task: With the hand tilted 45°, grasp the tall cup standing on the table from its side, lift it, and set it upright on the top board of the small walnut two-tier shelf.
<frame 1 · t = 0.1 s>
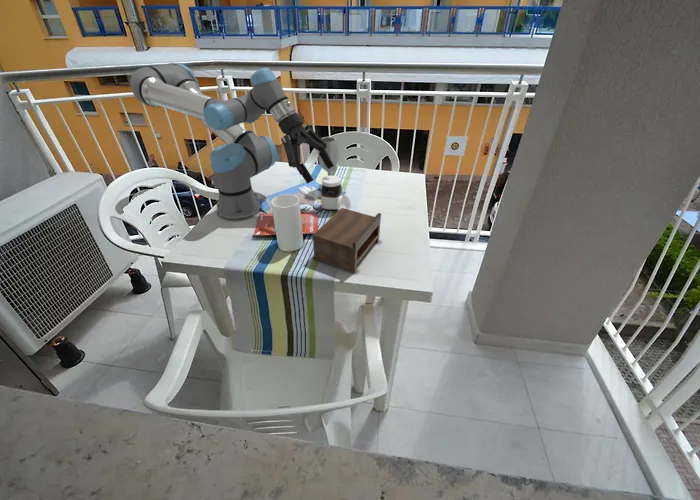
hand: (321, 174, 109), 15 cm above the table, tool tilted 35°, fingers open, 13 cm apart
wineglass: (329, 188, 135), on the table
shelf: (347, 249, 100), on the table
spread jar: (336, 209, 121), on the table
cup: (290, 244, 103), on the table
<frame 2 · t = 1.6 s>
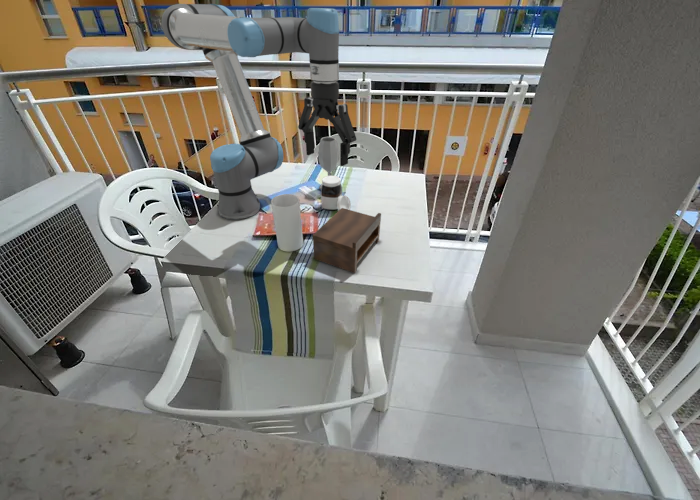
hand: (326, 159, 96), 25 cm above the table, tool pointing down, fingers open, 13 cm apart
nothing on the table moved.
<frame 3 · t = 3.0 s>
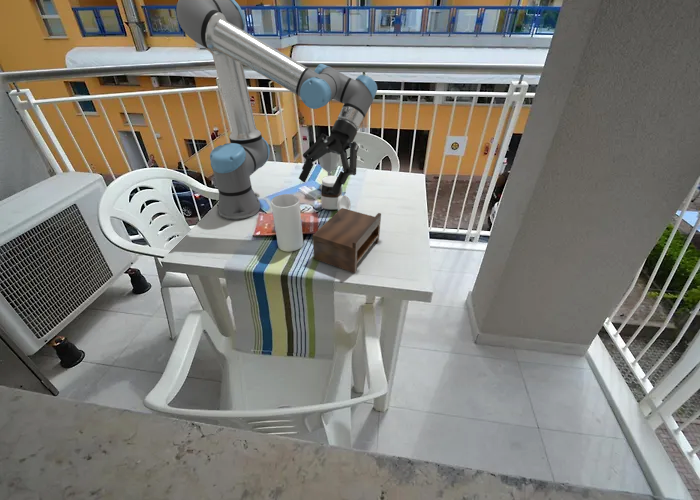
hand: (317, 186, 98), 17 cm above the table, tool tilted 45°, fingers open, 13 cm apart
nothing on the table moved.
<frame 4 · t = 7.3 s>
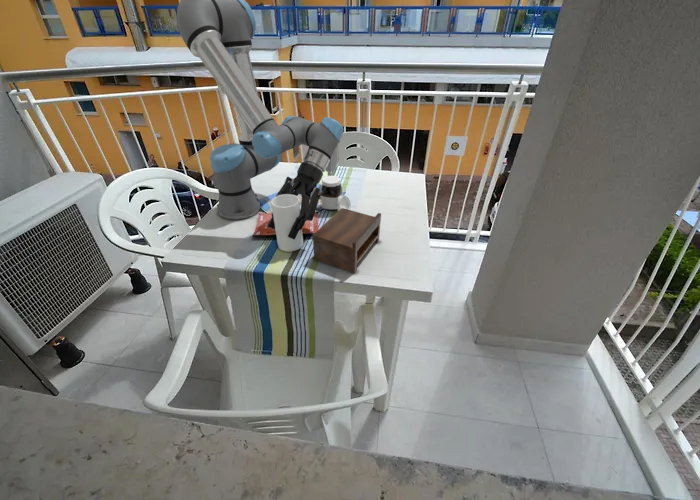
hand: (280, 232, 97), 6 cm above the table, tool tilted 45°, fingers closed on cup, 8 cm apart
cup: (290, 244, 103), on the table, touching gripper
everything else where it was.
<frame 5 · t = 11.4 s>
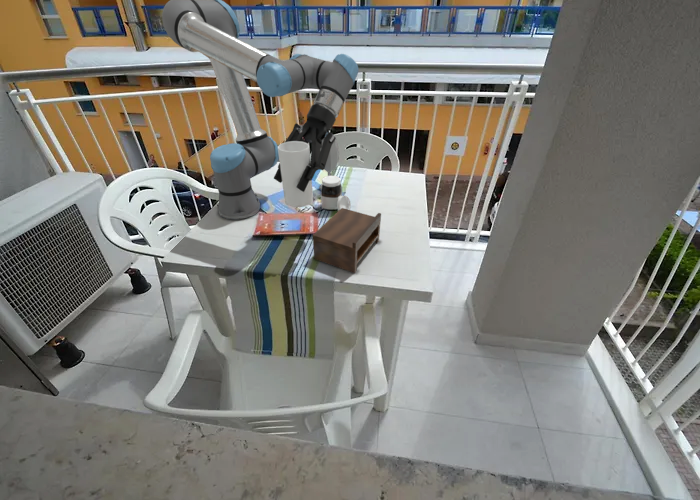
hand: (288, 184, 86), 23 cm above the table, tool tilted 45°, fingers closed on cup, 8 cm apart
cup: (299, 200, 92), point 16 cm above the table, touching gripper
everything else where it was.
when the fingers open (15 cm above the table, at t = 15.9 s): cup stays where it is, resting on shelf.
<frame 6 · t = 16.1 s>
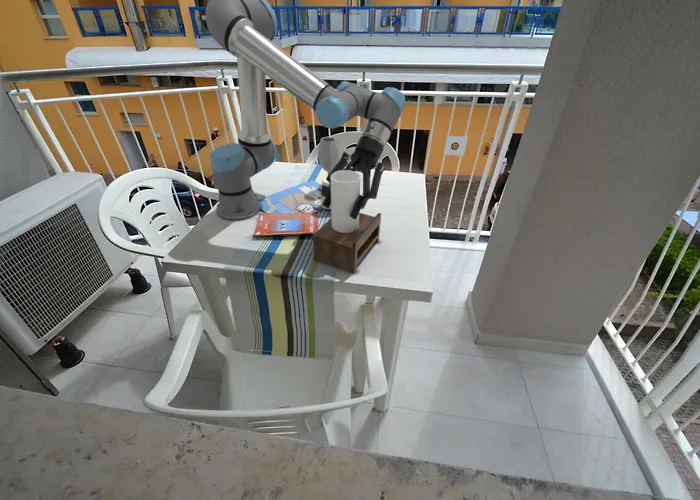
hand: (338, 212, 89), 15 cm above the table, tool tilted 45°, fingers open, 9 cm apart
cup: (345, 225, 95), point 9 cm above the table, touching shelf
everything else where it was.
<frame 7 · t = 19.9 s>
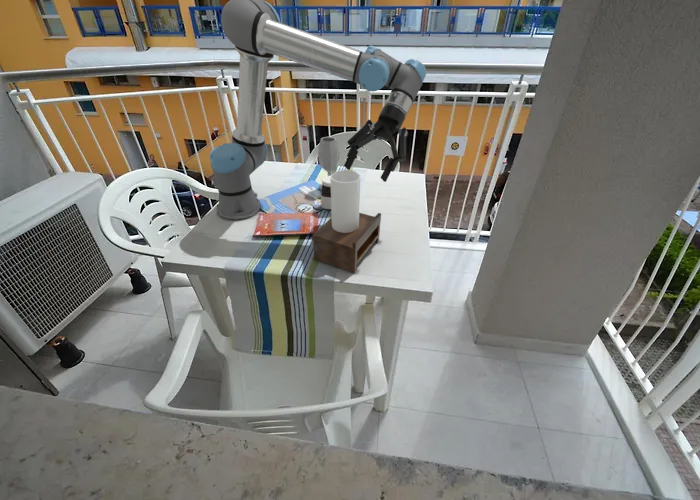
hand: (364, 173, 95), 22 cm above the table, tool tilted 45°, fingers open, 13 cm apart
nothing on the table moved.
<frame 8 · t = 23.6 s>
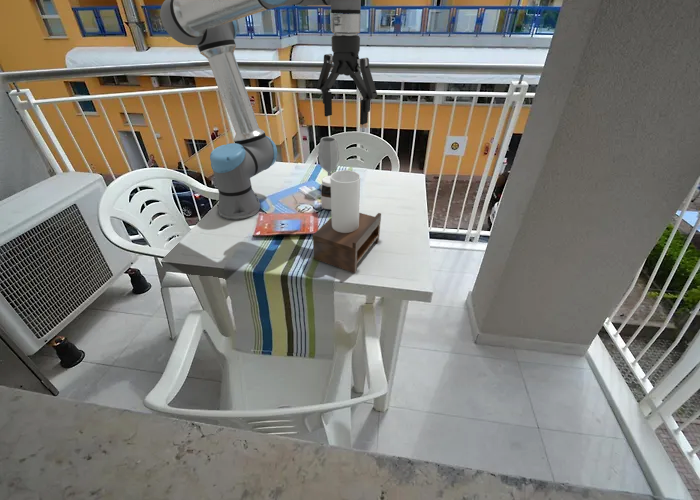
hand: (345, 119, 95), 35 cm above the table, tool pointing down, fingers open, 13 cm apart
nothing on the table moved.
at the end: cup inside the target area on the shelf (1.0 cm from its centre), point 8.8 cm above the shelf's base; cup tilted 0°; the gripper is holding nothing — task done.
